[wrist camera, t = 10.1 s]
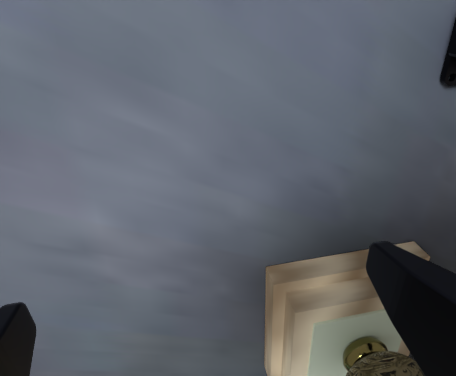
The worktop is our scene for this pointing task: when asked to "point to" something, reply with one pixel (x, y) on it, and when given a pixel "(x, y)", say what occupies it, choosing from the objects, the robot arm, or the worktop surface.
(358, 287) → the oak plinth
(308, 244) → the worktop surface
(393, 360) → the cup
